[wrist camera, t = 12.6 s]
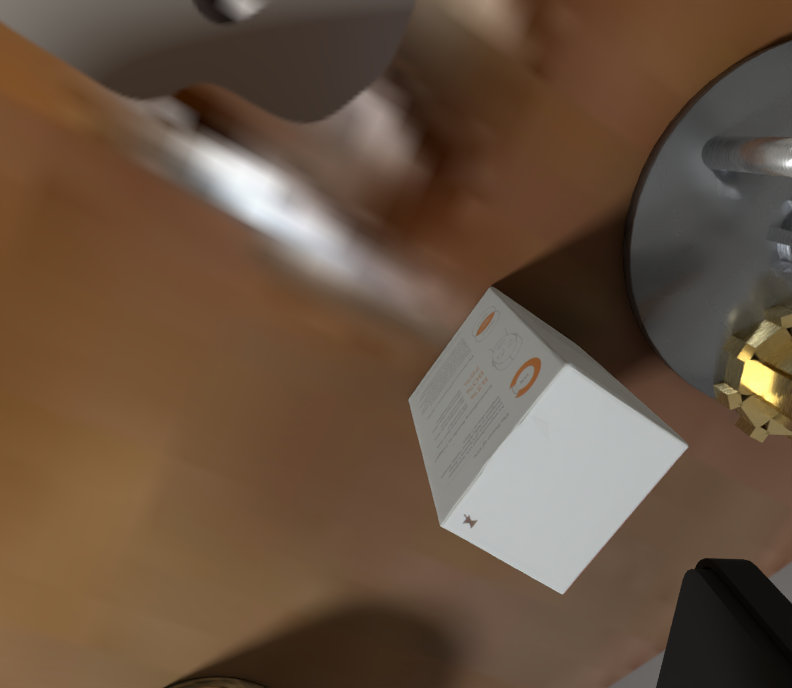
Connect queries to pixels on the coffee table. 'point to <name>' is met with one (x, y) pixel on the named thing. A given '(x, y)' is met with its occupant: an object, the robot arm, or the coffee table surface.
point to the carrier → (715, 219)
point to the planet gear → (761, 376)
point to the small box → (534, 443)
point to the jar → (216, 683)
